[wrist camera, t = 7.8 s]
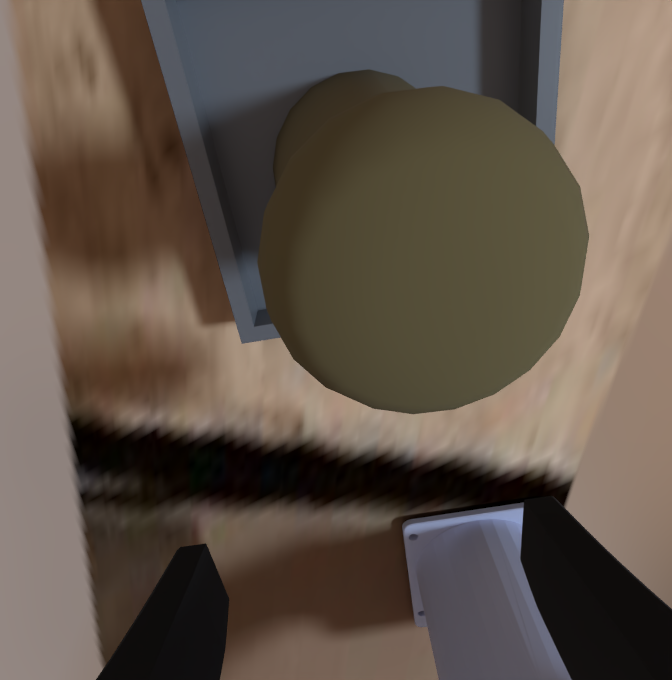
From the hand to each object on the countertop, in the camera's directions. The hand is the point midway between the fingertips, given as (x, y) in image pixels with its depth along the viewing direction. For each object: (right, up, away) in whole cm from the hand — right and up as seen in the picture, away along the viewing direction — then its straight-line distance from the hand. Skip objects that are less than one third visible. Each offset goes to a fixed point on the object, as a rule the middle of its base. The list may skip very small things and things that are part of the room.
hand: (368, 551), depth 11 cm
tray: (0, +11, +5) cm, 13 cm away
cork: (0, +11, +5) cm, 12 cm away
